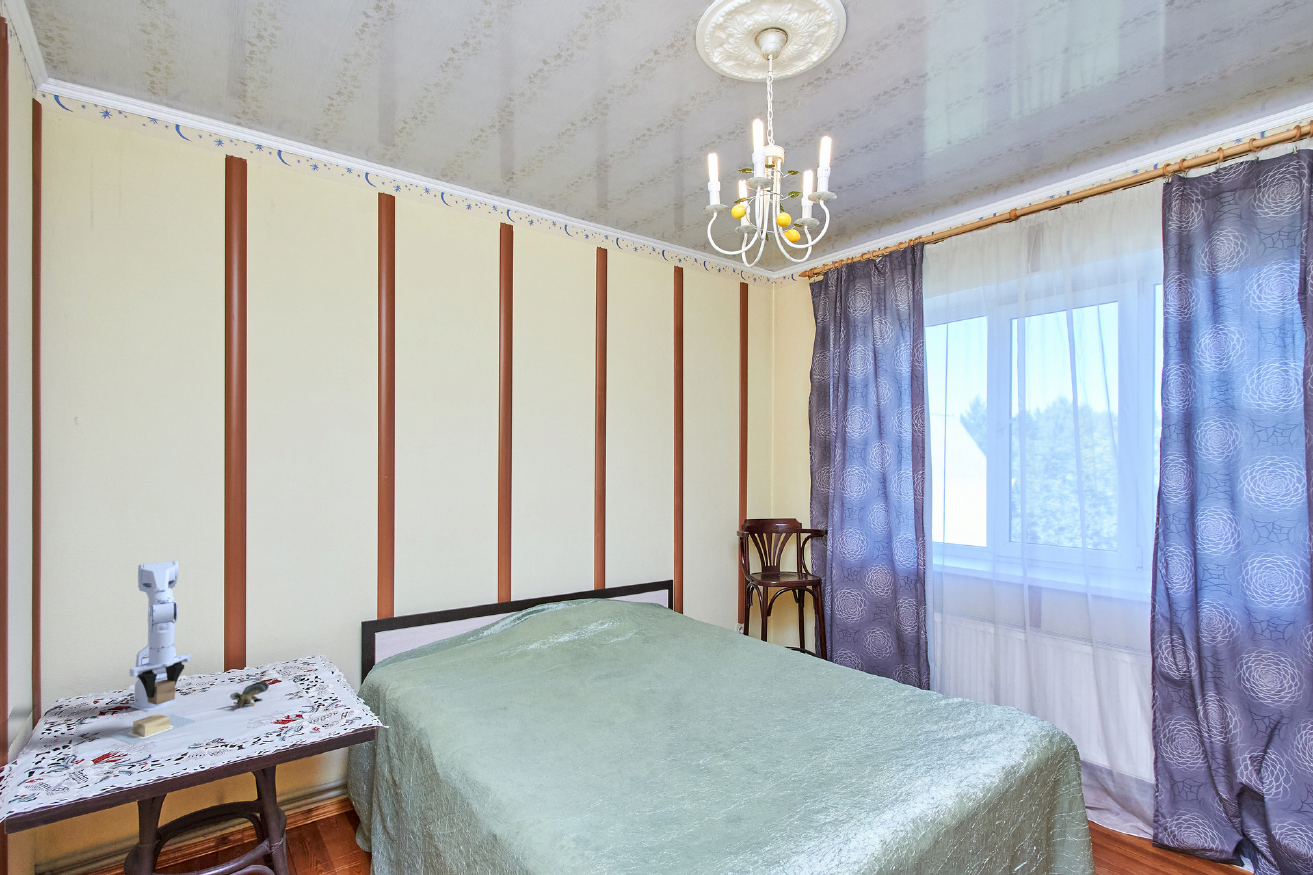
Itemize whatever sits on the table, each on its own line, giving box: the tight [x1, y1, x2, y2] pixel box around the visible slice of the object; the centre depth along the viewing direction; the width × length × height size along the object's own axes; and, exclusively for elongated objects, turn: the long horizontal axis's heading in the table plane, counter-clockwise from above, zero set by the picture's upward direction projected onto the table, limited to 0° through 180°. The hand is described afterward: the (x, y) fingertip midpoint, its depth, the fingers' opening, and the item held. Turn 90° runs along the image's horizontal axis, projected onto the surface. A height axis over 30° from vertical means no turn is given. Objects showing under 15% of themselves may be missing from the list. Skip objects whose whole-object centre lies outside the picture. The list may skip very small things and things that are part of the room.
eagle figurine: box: [229, 681, 270, 710], centre depth 194 cm, size 8×7×9 cm
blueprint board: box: [107, 713, 197, 745], centre depth 176 cm, size 12×16×1 cm
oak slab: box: [132, 713, 170, 737], centre depth 174 cm, size 6×6×3 cm
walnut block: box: [148, 679, 176, 705], centre depth 177 cm, size 4×4×5 cm
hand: (160, 693), depth 177 cm, fingers closed on walnut block, 4 cm apart
